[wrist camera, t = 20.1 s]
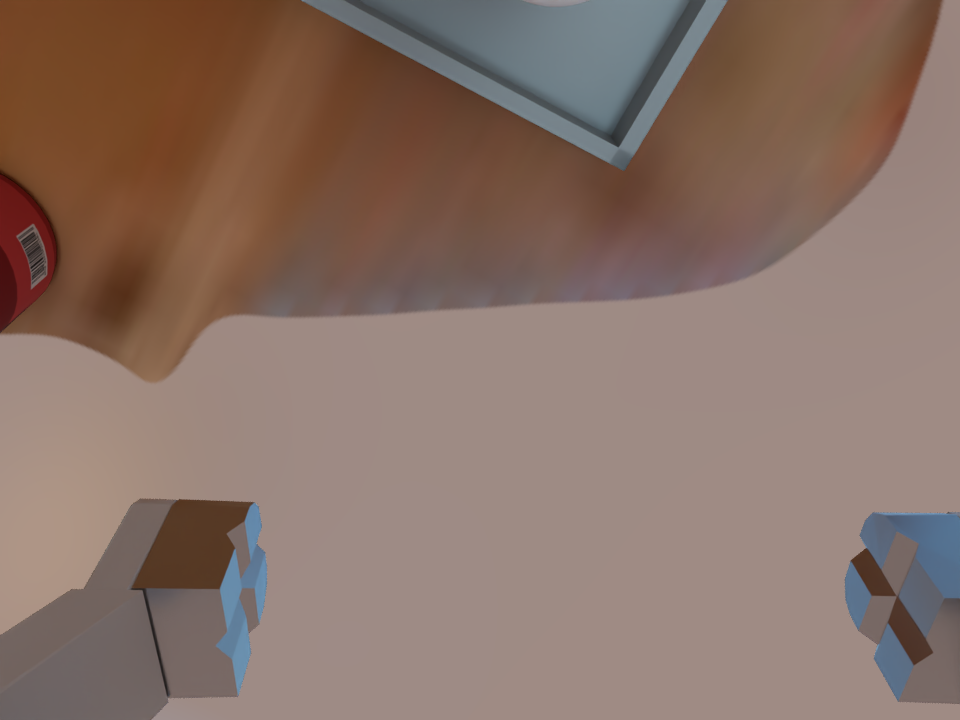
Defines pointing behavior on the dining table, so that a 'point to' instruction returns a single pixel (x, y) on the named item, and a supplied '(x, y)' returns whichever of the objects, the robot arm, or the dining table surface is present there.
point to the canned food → (22, 251)
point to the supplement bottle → (555, 2)
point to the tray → (550, 57)
